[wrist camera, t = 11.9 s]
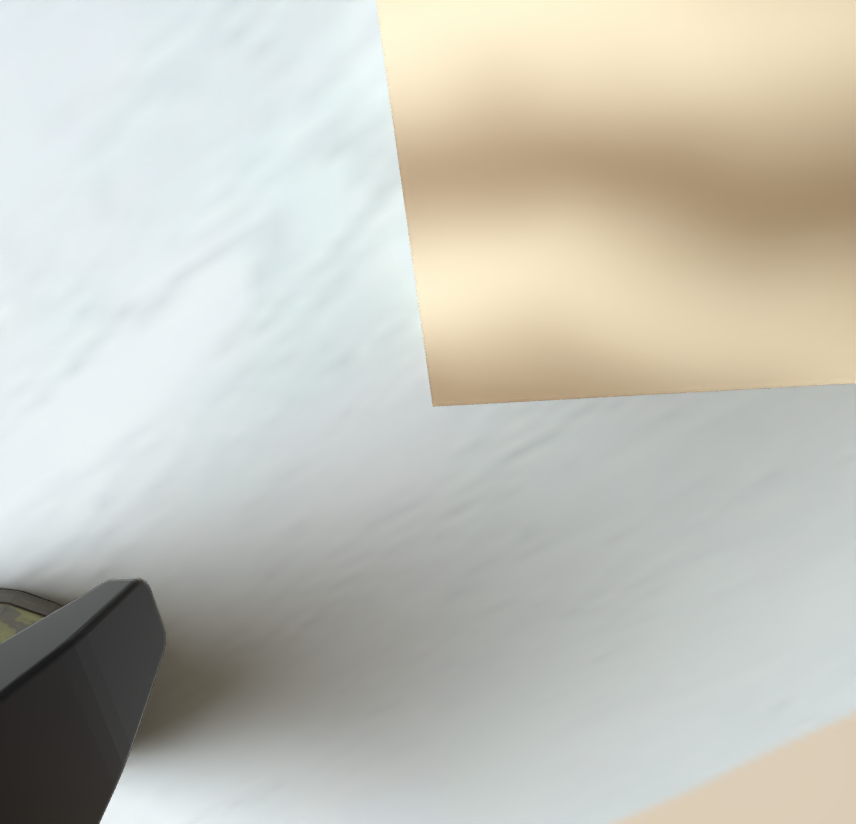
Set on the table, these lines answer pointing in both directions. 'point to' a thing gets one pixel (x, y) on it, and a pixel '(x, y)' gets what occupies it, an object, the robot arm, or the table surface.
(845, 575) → the table surface
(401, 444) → the table surface
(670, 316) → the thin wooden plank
